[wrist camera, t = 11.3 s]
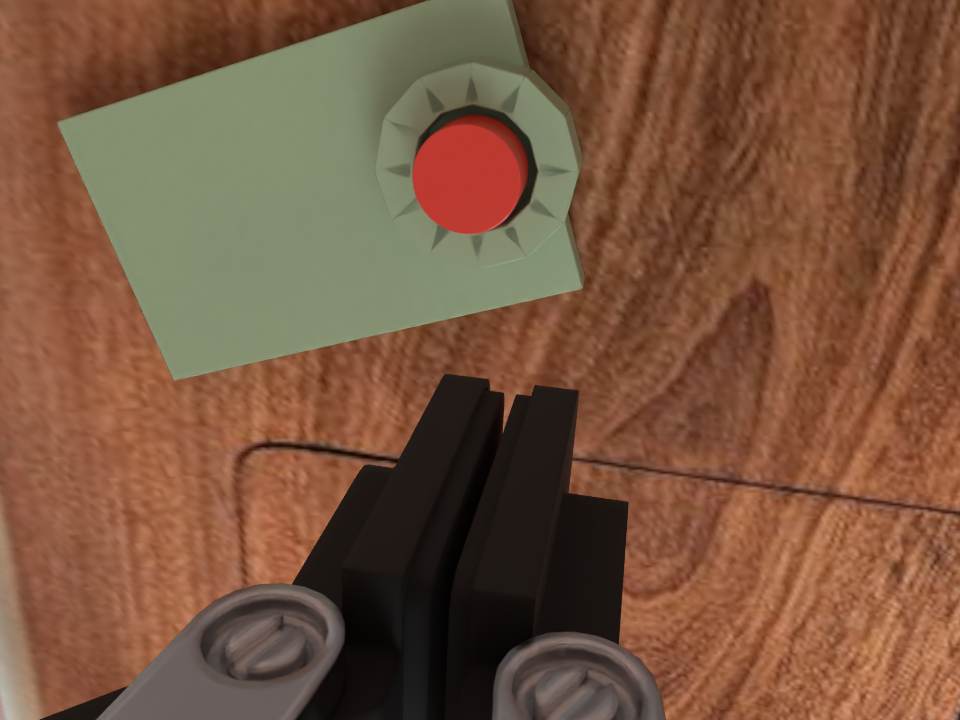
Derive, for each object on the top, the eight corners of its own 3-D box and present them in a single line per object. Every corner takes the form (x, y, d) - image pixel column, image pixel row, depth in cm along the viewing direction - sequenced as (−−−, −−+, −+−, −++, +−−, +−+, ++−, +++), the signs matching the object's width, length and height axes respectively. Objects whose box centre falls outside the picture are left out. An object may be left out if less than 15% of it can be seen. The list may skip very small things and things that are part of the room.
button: (512, 101, 26) (503, 110, 25) (540, 205, 27) (534, 219, 26) (411, 130, 27) (397, 140, 26) (443, 229, 28) (431, 245, 27)
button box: (539, -35, 27) (527, -35, 24) (615, 270, 31) (612, 301, 28) (75, 116, 32) (22, 131, 29) (187, 368, 35) (149, 402, 32)
